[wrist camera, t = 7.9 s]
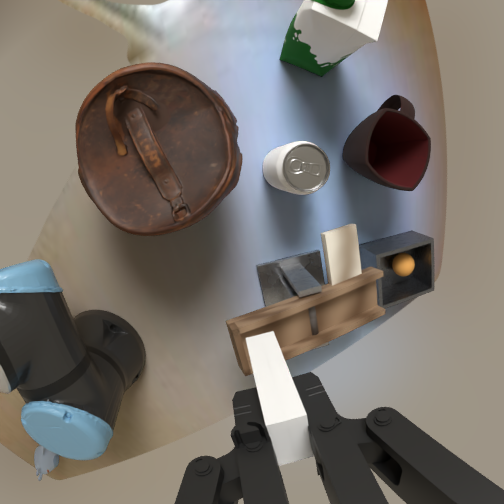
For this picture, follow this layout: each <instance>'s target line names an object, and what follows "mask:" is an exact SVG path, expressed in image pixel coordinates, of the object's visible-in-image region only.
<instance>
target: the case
mask: <svg viewBox="0 0 504 504" xmlns="http://www.w3.org/2000/svg"><path fill="white" fill-rule="evenodd" d="M236 122H237V120H236V118H235V116H234V115H233V113H232V112H231V110H230V108H229V107H228V105H227V104H226V102H225V101H224V100H223V98H222V97H221V96H220V95H219V94H218V93H217V92H216V91H215V90H212V89H211V88H210V87H208V86H207V85H206V84H205V83H203V82H202V81H201V80H199V79H198V78H196V77H195V76H193V75H192V74H190V73H188V72H187V71H184V70H182V69H180V68H178V67H176V66H172V65H169V64H163V63H152V62H151V63H141V64H135V65H131V66H127V67H124V68H121V69H119V70H117V71H115V72H113V73H112V74H110V75H108V76H107V77H106V78H104V79H103V80H102V81H101V82H99V83H98V84H97V85H96V86H95V87H94V88H93V89H92V90H91V91H90V93H89V94H88V95H87V97H86V98H85V100H84V101H83V103H82V105H81V107H80V110H79V113H78V116H77V120H76V148H77V157H78V165H79V169H78V174H79V178H80V180H81V183H82V185H83V187H84V189H85V191H86V192H87V194H88V196H89V197H90V198H91V200H92V201H93V202H94V203H95V205H96V206H97V207H98V209H99V210H100V211H101V213H102V214H103V215H104V216H105V217H106V218H107V220H108V221H109V222H110V223H112V224H113V225H114V226H116V227H117V228H119V229H120V230H122V231H125V232H127V233H130V234H135V235H141V236H155V235H163V234H167V233H171V232H175V231H178V230H181V229H183V228H186V227H189V226H191V225H193V224H195V223H197V222H198V221H200V220H201V219H203V218H205V217H206V216H207V215H209V214H210V213H211V212H212V211H213V210H214V209H215V208H216V207H217V206H218V205H219V204H220V202H221V201H222V200H223V199H224V198H225V197H226V196H227V195H228V194H229V193H230V192H231V191H232V190H233V189H234V188H235V187H236V185H237V183H238V181H239V176H240V171H241V166H242V154H241V153H240V149H239V147H238V144H237V137H238V126H237V125H236Z"/></svg>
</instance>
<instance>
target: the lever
mask: <svg viewBox="0 0 504 504" xmlns="http://www.w3.org/2000/svg"><path fill="white" fill-rule="evenodd" d="M321 238H322V244H323V251H324V257H325V264H326V271H327V278H328V284H326V285H323V286H321V288H322V291H321V292H318V293H314V294H310V295H307V296H303V297H299V296H298V295H297V296H294V297H292V298H289V299H286V300H283V301H281V302H278V303H275V304H273V305H270V306H267V307H264V308H261V309H259V310H256V311H253V312H250V313H247V314H245V315H242V316H239V317H236V318H233V319H230V320H227V321H226V324H227V327H228V331H229V334H230V338H231V341H232V345H233V348H234V351H235V355H236V358H237V362H238V365H239V367H240V368H241V370H242V372H243V373H244V375H245V376H247V375H250V374H253V369H252V365H251V360H250V356H249V351H248V347H247V342H246V338H247V337H252V336H256V335H260V334H264V333H267V332H271V331H274V334H275V336H276V339H277V341H278V344H279V347H280V349H281V352H282V354H283V357H284V359H285V360H288V359H290V358H293V357H295V356H297V355H300V354H302V353H304V352H307V351H309V350H311V349H313V348H316V347H318V346H320V345H322V344H325V343H327V342H329V341H331V340H333V339H335V338H338V337H340V336H342V335H344V334H346V333H348V332H350V331H352V330H354V329H356V328H358V327H360V326H362V325H364V324H366V323H368V322H370V321H372V320H374V319H376V318H378V317H380V316H382V315H384V314H385V309H384V308H382V307H380V306H378V305H377V288H376V280H377V279H379V278H381V277H383V271H382V270H379V269H376V268H373V267H368V268H366V269H363V270H361V262H360V253H359V245H358V236H357V229H356V224H349V225H346V226H342V227H339V228H336V229H333V230H330V231H326V232H323V233H321Z"/></svg>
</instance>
